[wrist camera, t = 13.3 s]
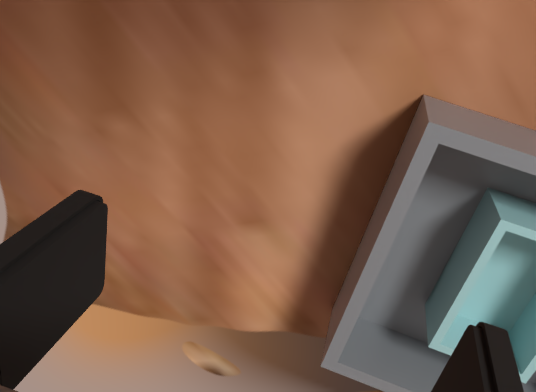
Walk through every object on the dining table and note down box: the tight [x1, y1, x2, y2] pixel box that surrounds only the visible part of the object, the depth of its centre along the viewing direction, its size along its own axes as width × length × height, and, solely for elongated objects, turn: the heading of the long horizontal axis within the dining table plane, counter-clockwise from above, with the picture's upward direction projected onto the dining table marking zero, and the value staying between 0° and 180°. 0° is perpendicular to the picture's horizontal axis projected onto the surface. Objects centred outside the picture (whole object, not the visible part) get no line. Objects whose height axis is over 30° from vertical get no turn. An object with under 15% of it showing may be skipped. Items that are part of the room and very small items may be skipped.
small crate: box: [425, 188, 536, 384], centre depth 33 cm, size 11×7×5 cm, turn 165°
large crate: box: [321, 95, 536, 392], centre depth 33 cm, size 20×20×7 cm
